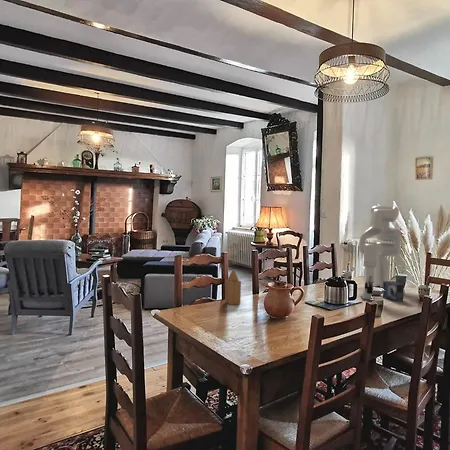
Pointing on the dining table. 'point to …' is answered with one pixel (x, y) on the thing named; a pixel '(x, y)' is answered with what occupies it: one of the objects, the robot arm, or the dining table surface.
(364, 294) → the link
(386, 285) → the small box
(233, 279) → the decorative item
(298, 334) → the dining table surface
